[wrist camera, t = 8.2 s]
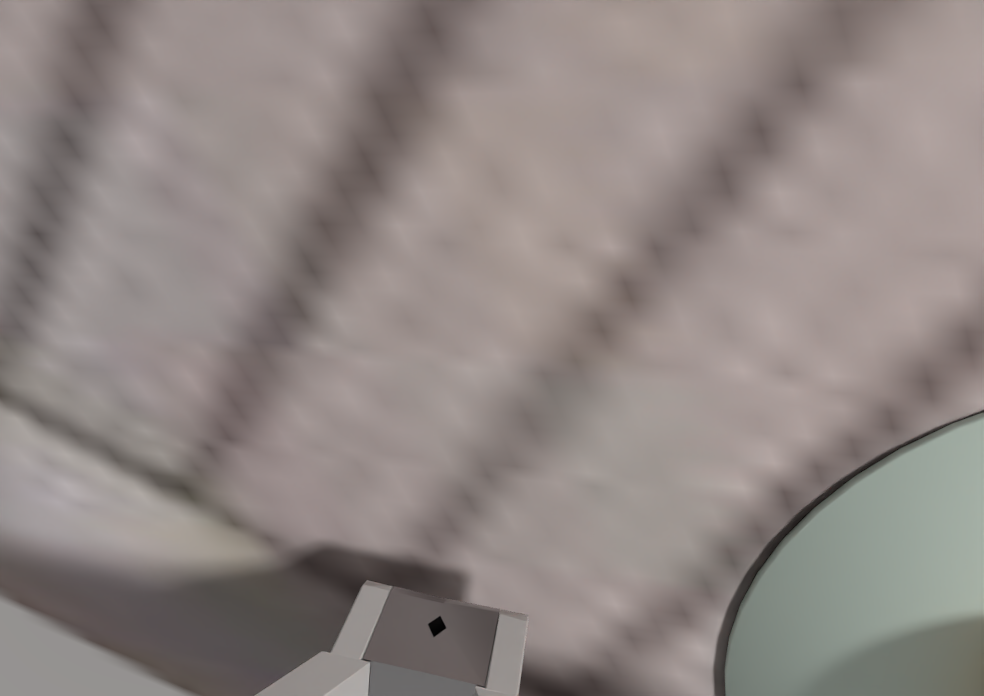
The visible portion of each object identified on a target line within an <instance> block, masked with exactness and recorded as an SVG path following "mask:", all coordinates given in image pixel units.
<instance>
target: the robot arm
mask: <svg viewBox="0 0 984 696" xmlns="http://www.w3.org/2000/svg"><path fill="white" fill-rule="evenodd" d="M499 612H500V614H499ZM498 618H499V619H498ZM528 621H529V619H528V615H525V614H520V613H516V612H511V611H506V610H501V611H500V609H497V608H492V607H487V606H482V605H477V604H472V603H467V602H462V601H458V600H453V599H448V598H447V599H445V598H441V597H437V596H433V595H429V594H425V593H420V592H416V591H412V590H408V589H404V588H400V587H396V586H390V585H385V584H381V583H377V582H373V581H369V580H367V581H366V582H365V583H364V584H363V585H362V586H361V589H360V591H359V593H358V595H357V597H356V599H355V601H354V603H353V605H352V607H351V609H350V612H349V614H348V616H347V618H346V620H345V622H344V624H343V626H342V628H341V630H340V632H339V635H338V637H337V639H336V641H335V643H334V645H333V647H332V649H331V651H330V652H325V651H321V652H319V653H318V654H316V655H315V656H313V657H312V658H310V659H309V660H307V661H306V662H304V663H303V664H301V665H300V666H298V667H297V668H295V669H294V670H292V671H291V672H289V673H288V674H286V675H285V676H283V677H282V678H280V679H279V680H277V681H276V682H274V683H273V684H271V685H270V686H268V687H267V688H265V689H264V690H262V691H261V692H259V693H257V694H256V695H254V696H518V695H519V687H520V680H521V673H522V665H523V658H524V650H525V643H526V636H527V628H528ZM497 624H498V625H497Z"/></svg>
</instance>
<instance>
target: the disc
mask: <svg viewBox="0 0 984 696" xmlns="http://www.w3.org/2000/svg"><path fill="white" fill-rule="evenodd" d="M724 670H725V696H984V412H983V413H980V414H977V415H974V416H972V417H969V418H966V419H963V420H961V421H958V422H955V423H952V424H950V425H948V426H946V427H944V428H942V429H940V430H938V431H936V432H934V433H931V434H929V435H927V436H925V437H923V438H921V439H919V440H917V441H915V442H913V443H911V444H909V445H907V446H904V447H902V448H900V449H898V450H897V451H895V452H894V453H892V454H890V455H889V456H887V457H885V458H884V459H882V460H881V461H879V462H877V463H876V464H874V465H872V466H871V467H869V468H868V469H866V470H864V471H863V472H861V473H859V474H858V475H856V476H855V477H853V478H852V479H850V480H849V481H848V482H847V483H845V484H844V485H843V486H841V487H840V488H839V489H838V490H836V491H835V492H834V493H833V494H831V495H830V496H829V497H827V498H826V499H825V500H824V501H822V502H821V503H820V504H818V505H817V506H816V507H815V508H814V509H813V510H812V511H811V512H810V513H809V514H808V515H807V516H806V517H805V518H804V519H803V520H802V521H801V522H800V523H799V524H798V525H797V526H796V527H795V528H794V529H793V530H792V531H791V532H790V533H789V534H788V535H787V536H786V537H785V538H784V539H783V540H782V541H781V542H780V544H779V545H778V546H777V548H776V549H775V550H774V552H773V553H772V554H771V555H770V557H769V558H768V559H767V561H766V562H765V563H764V565H763V566H762V567H761V569H760V570H759V571H758V573H757V575H756V577H755V578H754V580H753V582H752V584H751V586H750V588H749V589H748V591H747V593H746V595H745V597H744V599H743V601H742V602H741V604H740V607H739V610H738V613H737V616H736V619H735V621H734V624H733V627H732V630H731V633H730V636H729V642H728V648H727V655H726V661H725V668H724Z"/></svg>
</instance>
